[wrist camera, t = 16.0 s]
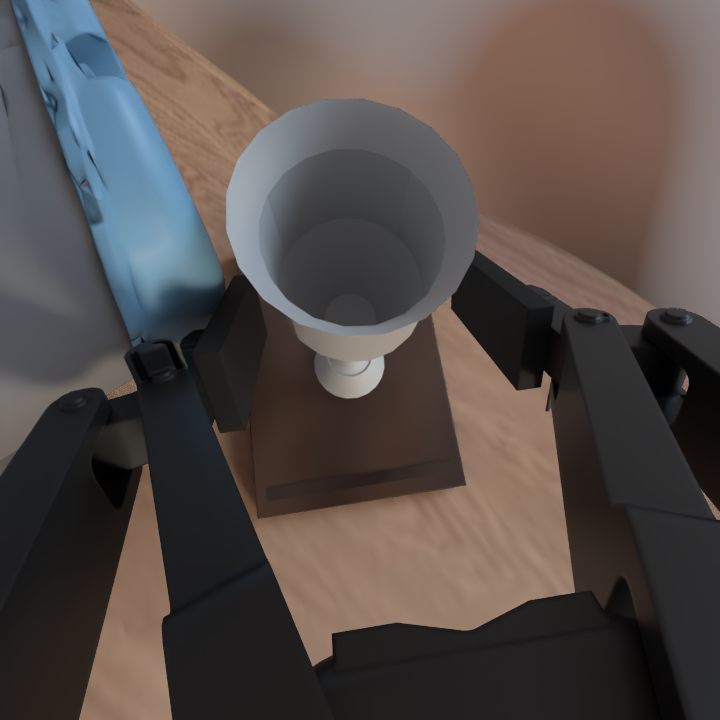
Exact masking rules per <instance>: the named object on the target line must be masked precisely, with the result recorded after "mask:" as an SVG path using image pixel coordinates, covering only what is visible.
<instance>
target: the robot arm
mask: <svg viewBox="0 0 720 720" xmlns="http://www.w3.org/2000/svg"><path fill="white" fill-rule="evenodd" d="M451 309H452V310H453V311H454V313H455V314H456V315H457V316H458V318H459V319H460V320H461V321H462V323H463V324H464V325H465V326H466V328H467V329H468V330H469V331H470V333H471V334H472V335H473V336H474V338H475V339H476V340H477V341H478V343H479V344H480V345H481V346H482V348H483V349H484V350H485V351H486V353H487V354H488V355H489V356H490V358H491V359H492V360H493V361H494V363H495V364H496V365H497V366H498V368H499V369H500V370H501V371H502V373H503V374H504V375H505V376H506V378H507V379H508V380H509V381H510V383H511V384H512V385H513V386H514V388H515V389H516V390H524V389H531V388H538V387H541V383H542V377H543V371H545V372H546V373H547V374H548V375H549V376H550V377H551V384H550V389H549V394H548V400H547V405H546V410H545V411H550V408H551V409H552V417H553V424H554V432H555V440H556V448H557V455H558V463H559V471H560V479H561V486H562V494H563V502H564V510H565V517H566V525H567V533H568V541H569V548H570V556H571V564H572V572H573V579H574V587H575V593H571V594H565V595H559V596H553V597H547V598H541V599H535V600H530V601H527V602H526V603H524V604H522V605H520V606H518V607H516V608H514V609H512V610H510V611H508V612H506V613H504V614H503V615H501V616H499V617H497V618H495V619H493V620H491V621H489V622H487V623H485V624H483V625H481V626H480V627H478V628H476V629H473V630H469V631H461V630H453V629H445V628H437V627H428V626H420V625H412V624H403V623H392V624H386V625H380V626H374V627H368V628H362V629H356V630H350V631H345V632H339V633H333V634H332V647H333V655H332V656H330V657H328V658H326V659H324V660H322V661H321V662H319V663H318V664H316V665H315V666H312V664H311V662H310V659H309V657H308V654H307V652H306V650H305V647H304V645H303V642H302V640H301V638H300V635H299V633H298V630H297V628H296V625H295V623H294V621H293V618H292V616H291V613H290V611H289V609H288V606H287V604H286V601H285V599H284V597H283V594H282V592H281V589H280V587H279V584H278V582H277V580H276V577H275V575H274V573H273V570H272V568H271V565H270V563H269V561H268V559H267V558H266V556H265V553H264V551H263V549H262V546H261V544H260V541H259V539H258V536H257V534H256V532H255V529H254V527H253V524H252V522H251V519H250V517H249V515H248V512H247V510H246V507H245V505H244V502H243V500H242V498H241V495H240V493H239V490H238V488H237V486H236V483H235V481H234V478H233V476H232V473H231V471H230V469H229V466H228V464H227V461H226V459H225V456H224V454H223V452H222V449H221V447H220V444H219V442H218V439H217V437H216V435H215V432H214V430H213V427H212V425H213V422H214V419H215V421H216V424H217V426H218V429H219V432H220V433H225V432H232V431H239V430H246V425H247V421H248V416H249V412H250V408H251V403H252V399H253V394H254V390H255V386H256V381H257V377H258V372H259V368H260V364H261V359H262V355H263V350H264V346H265V342H266V337H267V329H266V325H265V321H264V317H263V313H262V309H261V304H260V300H259V296H258V292H257V290H256V289H255V288H254V286H253V285H252V284H251V282H250V281H249V280H248V278H247V277H246V276H245V275H238V276H234V278H233V279H232V281H231V283H230V285H229V287H228V288H227V290H226V292H225V280H224V275H223V271H222V268H221V265H220V262H219V260H218V257H217V254H216V252H215V250H214V247H213V245H212V242H211V240H210V238H209V235H208V233H207V231H206V228H205V226H204V224H203V222H202V219H201V217H200V215H199V213H198V211H197V208H196V206H195V204H194V202H193V200H192V198H191V196H190V193H189V191H188V189H187V187H186V185H185V183H184V181H183V179H182V177H181V175H180V172H179V170H178V168H177V166H176V164H175V162H174V160H173V158H172V156H171V154H170V152H169V150H168V148H167V146H166V144H165V142H164V140H163V138H162V136H161V134H160V132H159V130H158V128H157V126H156V124H155V122H154V121H153V119H152V117H151V115H150V113H149V111H148V109H147V107H146V106H145V104H144V102H143V100H142V98H141V96H140V94H139V92H138V91H137V89H136V87H135V86H134V85H133V84H132V83H131V82H130V81H129V80H128V79H127V77H126V74H125V71H124V67H123V65H122V63H121V61H120V60H119V58H118V56H117V54H116V53H115V51H114V49H113V48H112V46H111V44H110V43H109V41H108V39H107V37H106V35H105V32H104V30H103V28H102V25H101V23H100V21H99V18H98V16H97V14H96V13H95V11H94V9H93V7H92V6H91V4H90V2H89V0H0V720H79V717H80V713H81V709H82V705H83V701H84V697H85V693H86V689H87V685H88V681H89V678H90V674H91V670H92V666H93V662H94V658H95V654H96V650H97V646H98V642H99V638H100V634H101V630H102V626H103V623H104V619H105V615H106V611H107V607H108V603H109V599H110V595H111V591H112V587H113V583H114V579H115V575H116V572H117V568H118V564H119V560H120V556H121V552H122V548H123V544H124V540H125V536H126V532H127V528H128V524H129V520H130V517H131V513H132V509H133V505H134V501H135V497H136V493H137V489H138V485H139V481H140V477H141V473H142V465H145V464H147V463H148V464H149V470H150V477H151V483H152V490H153V496H154V503H155V510H156V516H157V523H158V529H159V536H160V542H161V549H162V555H163V562H164V568H165V575H166V581H167V588H168V595H169V601H170V614H169V615H167V616H165V617H164V618H163V623H162V639H163V648H164V656H165V664H166V672H167V680H168V688H169V696H170V704H171V712H172V720H720V520H716V518H715V517H714V515H713V513H712V511H711V509H710V507H709V505H708V503H707V501H706V499H705V497H704V495H703V493H702V491H703V492H704V493H705V494H706V496H707V497H708V498H709V499H710V500H711V502H712V503H713V504H714V505H715V506H716V508H717V509H718V510H719V511H720V328H719V327H718V326H716V325H715V324H713V323H711V322H710V321H708V320H706V319H705V318H703V317H701V316H699V315H697V314H695V313H692V312H688V311H686V310H685V309H677V308H669V309H665V308H664V309H663V308H661V309H654V310H651V311H649V312H647V315H646V318H645V321H644V324H643V325H619V324H618V322H617V320H616V319H615V318H614V317H613V316H612V315H611V314H609V313H607V312H604V311H600V310H596V309H590V308H578V309H573V308H571V307H570V306H568V305H567V304H565V303H564V302H562V301H561V300H558V298H556V297H555V296H552V294H550V293H549V292H547V291H546V290H544V289H542V288H539V287H536V286H533V285H525V284H524V283H522V282H521V281H519V280H518V279H517V278H515V277H514V276H512V275H511V274H509V273H508V272H507V271H505V270H504V269H502V268H501V267H500V266H498V265H497V264H495V263H494V262H492V261H491V260H490V259H488V258H487V257H485V256H484V255H482V254H481V253H480V252H478V251H477V250H475V255H474V259H473V261H472V262H471V264H470V266H469V268H468V270H467V272H466V274H465V275H464V277H463V279H462V281H461V283H460V285H459V287H458V288H457V290H456V292H455V293H454V294H453V295H452V299H451ZM686 375H687V376H688V378H689V387H688V390H687V392H686V391H685V390H684V389H683V388H682V385H683V383H684V380H685V378H686ZM132 379H134V381H135V383H136V385H137V391H136V392H133V393H130V394H127V395H124V396H120V397H117V398H114V399H110V400H108V398H107V396H106V395H107V394H109V393H111V392H112V391H114V390H115V389H117V388H119V387H120V386H122V385H124V384H125V383H127V382H128V381H130V380H132ZM700 488H701V489H700ZM701 490H702V491H701Z"/></svg>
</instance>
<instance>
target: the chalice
mask: <svg viewBox="0 0 720 720" xmlns="http://www.w3.org/2000/svg"><path fill="white" fill-rule="evenodd" d="M478 228H479V216H478V210H477V204H476V199H475V193H474V188H473V185H472V183H471V181H470V179H469V177H468V175H467V173H466V171H465V169H464V167H463V165H462V163H461V161H460V159H459V157H458V155H457V154H456V153H455V152H454V151H453V150H452V148H451V147H450V146H449V145H448V144H447V143H446V142H445V141H444V140H443V139H442V138H441V137H440V136H439V135H438V134H437V133H436V132H435V131H434V130H433V129H432V127H430V126H428V125H427V124H425V123H423V122H421V121H420V120H418V119H416V118H415V117H413V116H411V115H410V114H408V113H406V112H404V111H403V110H401V109H399V108H396V107H392V106H388V105H384V104H381V103H377V102H373V101H369V100H366V99H325V100H322V101H318V102H315V103H312V104H309V105H305V106H302V107H299V108H296V109H293V110H290V111H288V112H287V113H285V114H284V115H282V116H281V117H279V118H278V119H276V120H275V121H273V122H272V123H270V124H269V125H268V126H266V127H265V128H263V129H262V130H260V131H259V132H258V134H257V135H256V136H255V138H254V139H253V140H252V142H251V143H250V144H249V145H248V147H247V148H246V149H245V151H244V152H243V153H242V155H241V156H240V157H239V158H238V160H237V163H236V166H235V169H234V172H233V175H232V178H231V181H230V184H229V187H228V190H227V192H226V231H227V234H228V237H229V240H230V243H231V246H232V249H233V252H234V255H235V258H236V260H237V263H238V266H239V268H240V269H241V271H242V272H243V273H244V274H245V276H246V277H247V278H248V280H249V281H250V282H251V284H252V285H253V286H254V288H255V289H256V290H257V292H258V293H259V294H260V296H261V297H262V298H263V299H264V300H265V301H267V302H268V303H269V304H271V305H272V306H274V307H275V308H277V309H278V310H280V311H281V313H282V315H283V318H284V320H285V322H286V323H287V324H288V326H289V327H290V328H291V330H292V331H293V332H294V333H295V335H296V336H297V337H298V339H299V340H300V341H301V342H303V343H304V344H306V345H307V346H309V347H310V348H311V349H313V350H314V351H316V352H317V353H316V356H315V360H314V362H315V372H316V375H317V378H318V380H319V382H320V383H321V384H322V386H323V387H324V388H325V389H326V390H327V391H329V392H330V393H332V394H333V395H335V396H338V397H342V398H358V397H361V396H363V395H366V394H368V393H369V392H370V391H372V390H373V389H374V388H375V387H376V386H377V385H378V383H379V381H380V380H381V378H382V375H383V371H384V356H383V355H385V354H387V353H390V352H392V351H394V350H395V349H396V348H397V347H398V346H399V345H400V344H402V343H403V342H404V341H405V340H406V339H407V338H408V337H409V336H411V334H412V332H413V330H414V328H415V327H416V325H417V323H418V321H420V320H423V319H425V318H427V317H428V316H429V315H430V314H431V313H432V312H433V311H434V310H436V309H437V308H438V307H439V306H440V305H441V304H442V303H444V302H445V301H446V300H447V299H448V298H449V297H450V296H451V295H453V294H454V293H455V292H456V290H457V288H458V287H459V285H460V283H461V281H462V279H463V277H464V275H465V274H466V272H467V270H468V268H469V266H470V264H471V262H472V261H473V259H474V255H475V248H476V241H477V235H478Z"/></svg>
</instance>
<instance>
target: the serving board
mask: <svg viewBox="0 0 720 720" xmlns="http://www.w3.org/2000/svg"><path fill="white" fill-rule="evenodd" d="M237 264H238V263H237ZM238 275H245V274H244V273H243V272H242V271H241V269H240V268H239V266H238ZM258 296H259V300H260V304H261V309H262V313H263V317H264V321H265V325H266V329H267V337H266V342H265V346H264V350H263V355H262V359H261V364H260V368H259V372H258V377H257V381H256V386H255V390H254V394H253V399H252V403H251V408H250V412H249V415H250V428H251V441H252V453H253V466H254V479H255V491H256V504H257V516H258V519H259V518H266V517H272V516H278V515H284V514H291V513H297V512H303V511H309V510H316V509H322V508H328V507H334V506H341V505H347V504H353V503H359V502H366V501H372V500H378V499H384V498H391V497H397V496H403V495H409V494H415V493H422V492H428V491H434V490H440V489H447V488H453V487H459V486H465V485H466V482H465V477H464V472H463V467H462V462H461V457H460V452H459V447H458V442H457V437H456V432H455V428H454V423H453V418H452V413H451V408H450V403H449V398H448V393H447V388H446V383H445V378H444V373H443V368H442V364H441V359H440V354H439V349H438V344H437V339H436V334H435V329H434V324H433V319H432V314H430V315H429V316H428V317H427V318H425V319H423V320H420V321H418V323H417V325H416V327H415V328H414V330H413V332H412V334H411V336H409V337H408V338H407V339H406V340H405V341H404V342H403V343H402V344H400V345H399V346H398V347H397V348H396V349H395V350H394V351H392V352H390V353H387V354H385V355H383V356H384V371H383V375H382V378H381V380H380V381H379V383H378V385H377V386H376V387H375V388H374V389H373V390H372V391H370V392H369V393H368V394H366V395H363V396H361V397H358V398H342V397H338V396H335V395H333V394H332V393H330V392H329V391H327V390H326V389H325V388H324V387H323V386H322V384H321V383H320V382H319V380H318V378H317V375H316V372H315V362H314V360H315V356H316V353H317V352H316V351H314V350H313V349H311V348H310V347H309V346H307V345H306V344H304V343H303V342H301V341H300V340H299V339H298V337H297V336H296V335H295V333H294V332H293V331H292V330H291V328H290V327H289V326H288V324H287V323H286V322H285V320H284V318H283V315H282V313H281V311H280V310H278V309H277V308H275V307H274V306H272V305H271V304H269V303H268V302H267V301H265V300H264V299H263V298H262V297H261V296H260V294H259V293H258Z"/></svg>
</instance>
